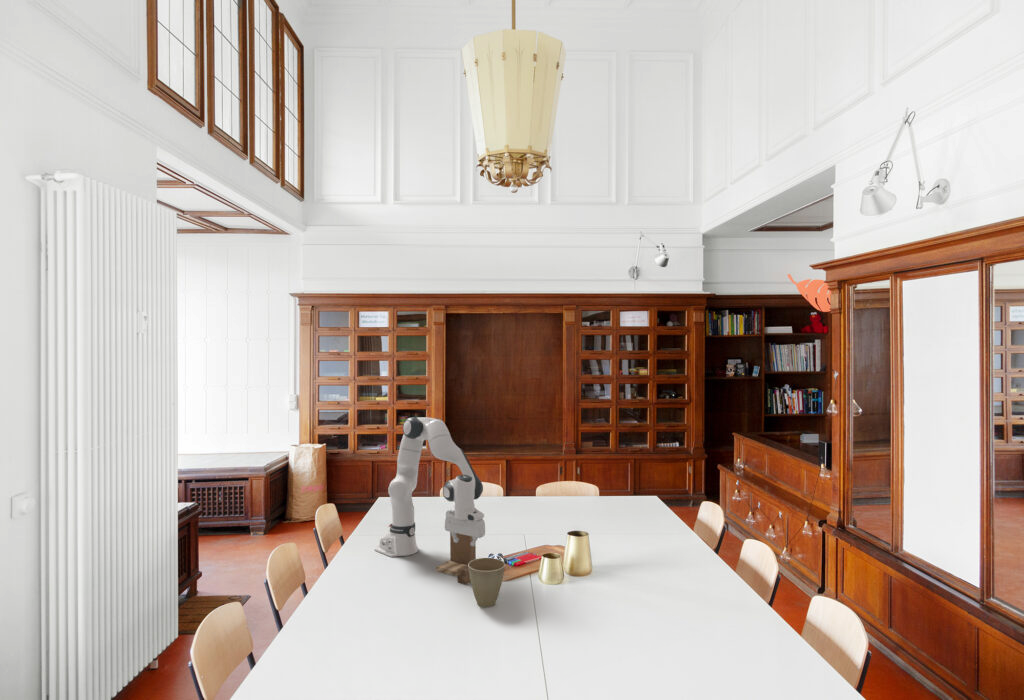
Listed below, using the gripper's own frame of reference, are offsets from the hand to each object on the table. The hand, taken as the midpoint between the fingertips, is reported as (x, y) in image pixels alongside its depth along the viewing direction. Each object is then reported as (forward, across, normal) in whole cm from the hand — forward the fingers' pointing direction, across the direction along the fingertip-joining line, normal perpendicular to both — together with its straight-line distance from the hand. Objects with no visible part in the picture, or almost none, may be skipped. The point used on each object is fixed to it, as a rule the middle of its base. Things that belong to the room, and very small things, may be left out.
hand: (464, 544), depth 266 cm
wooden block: (+17, -16, +20) cm, 31 cm away
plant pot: (+17, +21, -13) cm, 30 cm away
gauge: (+17, 0, +4) cm, 17 cm away
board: (+17, -7, +8) cm, 20 cm away
